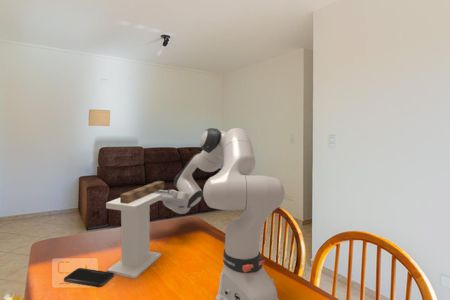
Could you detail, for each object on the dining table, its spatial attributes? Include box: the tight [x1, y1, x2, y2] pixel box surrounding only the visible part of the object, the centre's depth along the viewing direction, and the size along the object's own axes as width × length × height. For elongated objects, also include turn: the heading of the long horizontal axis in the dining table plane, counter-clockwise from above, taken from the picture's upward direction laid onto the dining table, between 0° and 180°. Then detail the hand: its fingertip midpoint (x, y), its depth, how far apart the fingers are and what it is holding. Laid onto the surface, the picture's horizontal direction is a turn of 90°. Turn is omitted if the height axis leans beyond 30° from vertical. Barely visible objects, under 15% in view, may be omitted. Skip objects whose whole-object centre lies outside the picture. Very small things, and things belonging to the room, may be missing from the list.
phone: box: [63, 267, 115, 288], centre depth 95 cm, size 8×1×15 cm
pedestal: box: [105, 193, 162, 280], centre depth 104 cm, size 18×12×26 cm, turn 163°
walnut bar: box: [119, 180, 165, 204], centre depth 108 cm, size 26×3×3 cm, turn 163°
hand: (159, 190), depth 120 cm, fingers open, 8 cm apart
